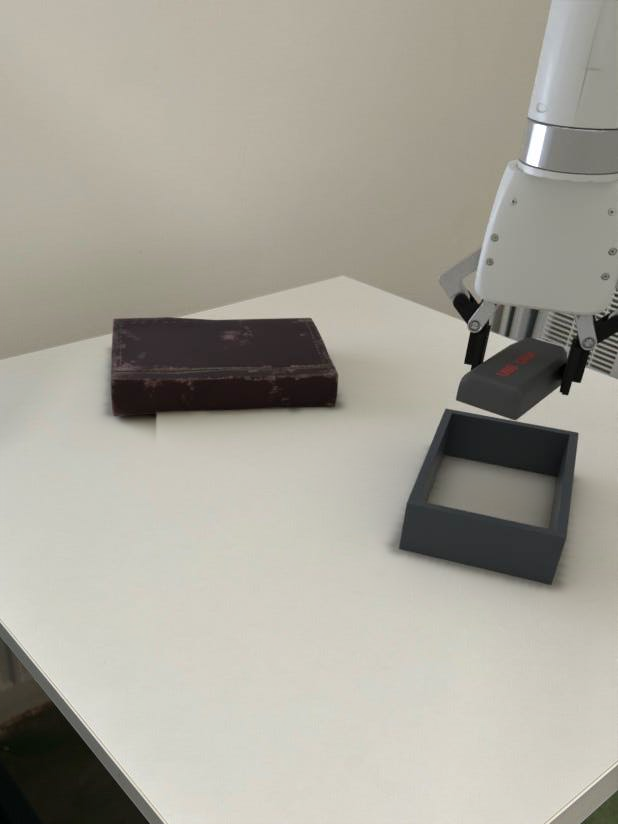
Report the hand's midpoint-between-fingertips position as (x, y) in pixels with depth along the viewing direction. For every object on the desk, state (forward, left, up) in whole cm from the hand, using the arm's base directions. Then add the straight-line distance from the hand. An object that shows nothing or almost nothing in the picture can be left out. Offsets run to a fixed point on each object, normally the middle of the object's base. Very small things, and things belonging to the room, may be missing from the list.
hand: (519, 378), depth 69 cm
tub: (0, 0, -14) cm, 14 cm away
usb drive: (0, 0, -1) cm, 1 cm away
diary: (+24, -29, -14) cm, 40 cm away
